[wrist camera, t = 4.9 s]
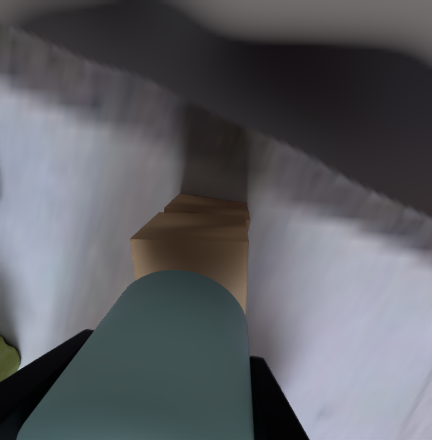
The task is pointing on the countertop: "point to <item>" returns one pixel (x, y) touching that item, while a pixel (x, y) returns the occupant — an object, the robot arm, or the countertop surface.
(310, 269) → the countertop surface
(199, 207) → the tower base
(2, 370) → the plant pot
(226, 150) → the countertop surface
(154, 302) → the teal block
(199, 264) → the tan wooden block
